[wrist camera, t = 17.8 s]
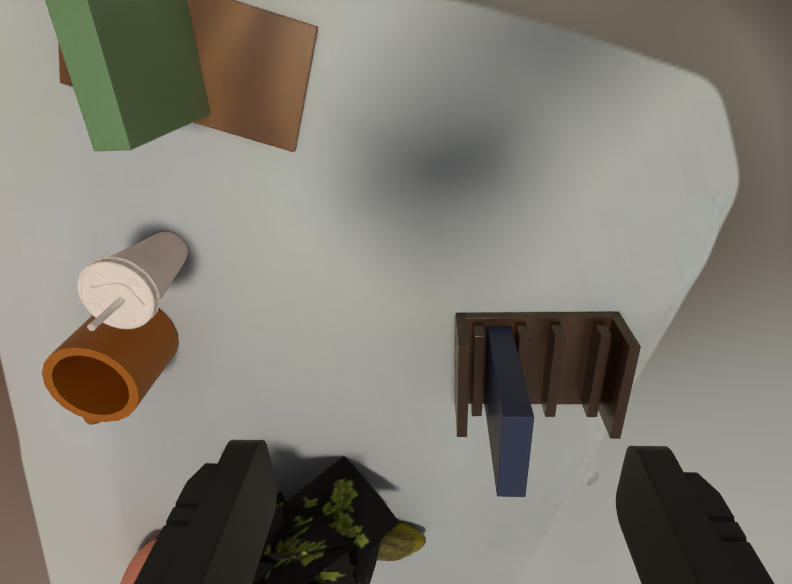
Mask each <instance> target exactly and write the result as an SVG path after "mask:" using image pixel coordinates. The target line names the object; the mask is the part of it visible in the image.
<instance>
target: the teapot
mask: <svg viewBox="0 0 792 584" xmlns="http://www.w3.org/2000/svg"><path fill="white" fill-rule="evenodd" d="M157 538H158V536H157ZM156 540H157V539H156ZM156 540H152V541H151V542H149V543H148V544H146V545H145V546H144V547H143V548H142V549H141V550H140V551H139V552H138V553H137V554H136V555H135V556H134V558H133V559H132V560H131V562H130V564H129V565H128V567H127V569H126V571H125V574H124V576H123V578H122V581H121V583H120V584H134V582H135V580H136V578H137V576H138V574H139V572H140V570H141V568H142V566H143V565H144V563H145V561H146V559H147V557H148V555H149V553H150V551H151V549H152V547H153V545H154V544H155V542H156Z"/></svg>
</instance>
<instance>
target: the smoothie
mask: <svg viewBox="0 0 792 584" xmlns="http://www.w3.org/2000/svg"><path fill="white" fill-rule="evenodd" d="M187 257H188V249H187V246H186V244H185V243H184V241H183V240H182V239H181V238H180V237H179V236H177V235H175V234H173V233H171V232H159V233H157V234H155V235H153V236H151V237H149V238H147V239H145V240H143V241H141V242H139V243H137V244H135V245H133V246H131V247H129V248H127V249H125V250H123V251H121V252H119V253H117V254H115V255H113V256H111V257H102V258H99V259H96V260H94V261H93V262H91V263H90V264H89V265H88V266H87V267H86V268H85V269H84V270H83V271H82V272H81V274H80V275H79V278H78V282H77V289H78V294H79V297H80V299H81V301H82V303H83V305H84V306H85V307H86V309H87V310H88V311H89V312H90V313H91V314H92V315H93V316H94V317H96V319H94V320H93V321H92V322H91V323H90V324H89V325H88V326H87V328H88V329H89V330H90V331H94V330H95V329H96V328H97V327H98V326H99V325H100V324H102V323H105V324H107V325H110V326H112V327H116V328H121V329H134V328H138V327H140V326H143V325H144V324H146V323H147V322H148V321H149V320H150V319H151V318H153V317H154V315H155V314H156V312H157V311H158V308H159V304H160V300H161V298H162V297H163V295H164V293H165V292H166V290H167V289H168V287H169V286H170V284H171V283H172V281H173V279H174V278H175V276H176V275H177V273H178V272H179V270H180V269H181V267H182V265H183V264H184V262H185V261H186V259H187Z"/></svg>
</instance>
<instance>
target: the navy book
mask: <svg viewBox="0 0 792 584" xmlns="http://www.w3.org/2000/svg"><path fill="white" fill-rule="evenodd" d="M484 403H485V411H486V418H487V425H488V433H489V440H490V447H491V455H492V462H493V470H494V477H495V484H496V492H497V496H502V497H525V495H526V486H527V477H528V468H529V459H530V450H531V441H532V432H533V423H534V415H533V411H532V407H531V403H530V399H529V395H528V391H527V387H526V383H525V379H524V375H523V371H522V367H521V363H520V359H519V356H518V352H517V348H516V344H515V340H514V336H513V332H512V328H511V327H487V336H486V357H485V378H484Z"/></svg>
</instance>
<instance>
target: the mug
mask: <svg viewBox="0 0 792 584" xmlns="http://www.w3.org/2000/svg"><path fill="white" fill-rule="evenodd" d="M94 319H96V317H94V316H91V317H90V318H89V319H88V320H87V321H86V322H85V323H84V324H83V325H82V326H81V327H80V328H79V329H78V330H76V331H75V332H74V333H73V334H72V335H71V336H70V337H69V338H68V339H67V340H66V341H65V342H64V343H63V344H61V345H60V346H59V347H58V348H57V349H56V350H55V351H54V352H53V353H52V354H51V355H50V356H49V357H48V359H47V360H46V361H45V362H44V365H43V371H42V376H43V380H44V384H45V386H46V388H47V389H48V391H49V392H50V394H51V396H52V397H53V398H54V399H55V400H56V401H57V402H58V403H59V404H61V405H62V406H63V407H64V408H66V409H67V410H69V411H71V412H72V413H74V414H76V415H78V416H81V417H83V418H84V420H85V422H86V423H88V424H91V425H93V424H97V423H100V422H101V421H102V422H108V421H118V420H120V419H123V418H125V417H127V416H129V415H130V414H131V413H132V412H133V411H134V410H135V409H136V407H137V406H138V405H139V403H140V402H141V400H142V399H143V398H144V396H145V395H146V393H147V392H148V391H149V389H150V388H151V386H152V385H153V384H154V382H155V381H156V379H157V378H158V377H159V375H160V374H161V372H162V371H163V370H164V368H165V367H166V365H167V364H168V363H169V361H170V360H171V359H172V357H173V356H174V354H175V352H176V350H177V347H178V334H177V332H176V329H175V327H174V325H173V323H172V322H171V321H170V319H169V318H168V317H167V316H166V315H165V314H164V313H163V312H162V311H160V310H159V309H158V311H157V312H156V314H155V315H154V317H153V318H151V319H150V320H149V321H148V322H147V323H146V324H144V325H143V326H140V327H138V328H134V329H121V328H116V327H112V326H110V325H107V324H105V323H102V324H100V325H99V326H98V327H97V328H96V329H95V330H94V331H90V330H89V329H88V328H87V326H88V325H89V324H90V323H91V322H92V321H93V320H94Z"/></svg>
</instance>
